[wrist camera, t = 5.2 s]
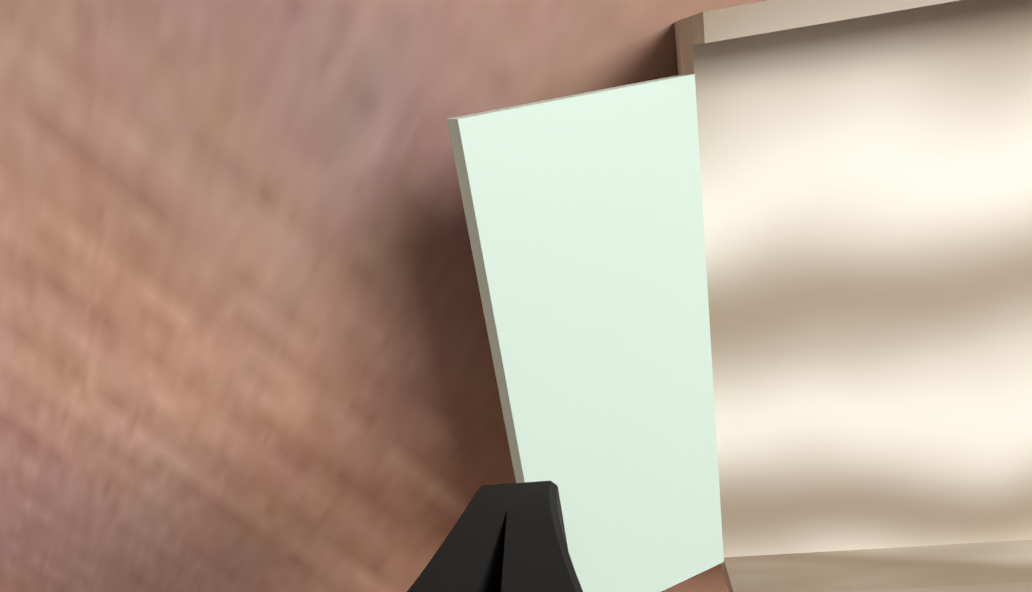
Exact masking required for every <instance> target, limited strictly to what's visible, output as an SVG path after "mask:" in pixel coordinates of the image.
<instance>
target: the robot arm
mask: <svg viewBox="0 0 1032 592" xmlns="http://www.w3.org/2000/svg"><path fill="white" fill-rule="evenodd" d="M407 592H583V590H582V588H581V585H580V583H579V580H578V577H577V575H576V572H575V569H574V566H573V563H572V561H571V558H570V555H569V552H568V546H567V539H566V533H565V527H564V521H563V515H562V509H561V503H560V497H559V491H558V486H557V485H556V484H555V483H553V482H552V481H538V482H525V483H512V484H499V485H486V486H481V488H480V489H479V490H478V491H477V492H476V494H475V495H474V497H473V498H472V500H471V502H470V503H469V505H468V506H467V508H466V509H465V511H464V512H463V514H462V515H461V517H460V519H459V520H458V522H457V523H456V525H455V526H454V528H453V529H452V531H451V532H450V534H449V535H448V536H447V538H446V539H445V541H444V542H443V544H442V545H441V547H440V548H439V549H438V551H437V552H436V554H435V555H434V556H433V558H432V559H431V561H430V562H429V563H428V565H427V566H426V568H425V569H424V570H423V572H422V573H421V574H420V576H419V577H418V578H417V580H416V581H415V582H414V584H413V585H412V586H411V587H410V589H409V590H408V591H407Z"/></svg>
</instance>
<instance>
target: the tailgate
mask: <svg viewBox="0 0 1032 592" xmlns="http://www.w3.org/2000/svg"><path fill="white" fill-rule="evenodd" d="M447 123H448V128H449V133H450V138H451V144H452V149H453V154H454V159H455V165H456V170H457V175H458V180H459V186H460V191H461V196H462V201H463V207H464V212H465V217H466V222H467V228H468V233H469V238H470V244H471V249H472V254H473V259H474V265H475V270H476V275H477V280H478V286H479V291H480V296H481V301H482V307H483V312H484V317H485V322H486V328H487V333H488V338H489V343H490V349H491V354H492V359H493V364H494V370H495V375H496V380H497V385H498V391H499V396H500V401H501V406H502V412H503V417H504V422H505V427H506V433H507V438H508V443H509V448H510V454H511V459H512V464H513V469H514V475H515V480H516V483H525V482H538V481H552V482H553V483H555V484H556V485H557V486H558V491H559V497H560V503H561V509H562V515H563V521H564V527H565V533H566V539H567V546H568V552H569V555H570V558H571V561H572V563H573V566H574V569H575V572H576V575H577V577H578V580H579V583H580V585H581V588H582V590H583V592H661V591H663V590H666V589H668V588H670V587H672V586H674V585H676V584H678V583H680V582H682V581H685V580H687V579H689V578H691V577H693V576H695V575H697V574H699V573H702V572H704V571H706V570H708V569H710V568H712V567H714V566H716V565H718V564H721V563H723V562H724V554H723V537H722V521H721V504H720V487H719V470H718V454H717V437H716V420H715V404H714V387H713V370H712V354H711V337H710V320H709V303H708V287H707V270H706V253H705V237H704V220H703V203H702V187H701V170H700V153H699V136H698V120H697V103H696V86H695V74H690V75H678V76H670V77H665V78H660V79H654V80H649V81H644V82H639V83H633V84H628V85H623V86H617V87H612V88H607V89H602V90H596V91H591V92H586V93H580V94H575V95H570V96H565V97H559V98H554V99H549V100H543V101H538V102H533V103H528V104H522V105H517V106H512V107H506V108H501V109H496V110H491V111H485V112H480V113H475V114H469V115H464V116H459V117H454V118H448V119H447Z"/></svg>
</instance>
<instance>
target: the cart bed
mask: <svg viewBox="0 0 1032 592" xmlns="http://www.w3.org/2000/svg"><path fill="white" fill-rule="evenodd" d="M674 24H675V38H676V53H677V67H678V75H690V74H695V86H696V103H697V120H698V136H699V153H700V170H701V187H702V203H703V220H704V237H705V253H706V270H707V287H708V303H709V320H710V337H711V354H712V370H713V387H714V404H715V420H716V437H717V454H718V470H719V487H720V504H721V521H722V537H723V554H724V562H723V563H721V564H722V567H723V571H724V574H725V578H726V581H727V585H728V588H729V592H1032V0H768V1H762V2H756V3H751V4H745V5H739V6H734V7H728V8H722V9H717V10H711V11H705V12H701V13H699V14H696V15H693V16H690V17H688V18H685V19H682V20H679V21H677V22H674Z"/></svg>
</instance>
